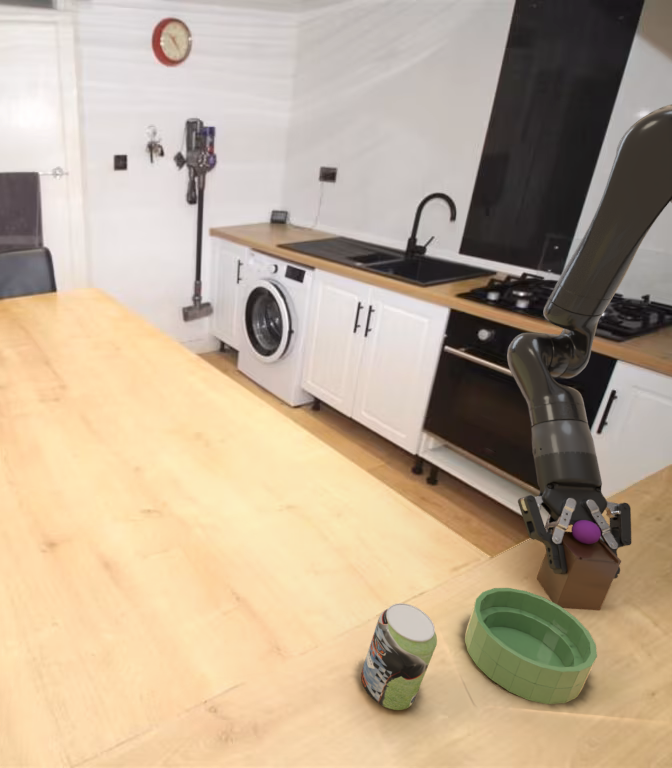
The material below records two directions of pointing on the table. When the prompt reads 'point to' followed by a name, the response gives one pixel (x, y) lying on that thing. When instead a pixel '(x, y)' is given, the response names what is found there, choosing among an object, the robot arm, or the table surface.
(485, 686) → the table surface
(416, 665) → the beverage can
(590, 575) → the ball stand
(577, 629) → the bowl
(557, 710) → the table surface
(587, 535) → the ball
